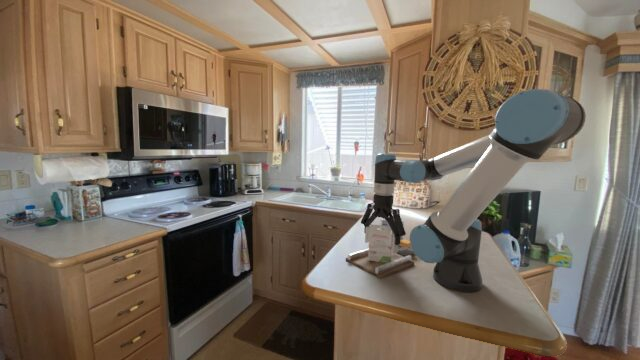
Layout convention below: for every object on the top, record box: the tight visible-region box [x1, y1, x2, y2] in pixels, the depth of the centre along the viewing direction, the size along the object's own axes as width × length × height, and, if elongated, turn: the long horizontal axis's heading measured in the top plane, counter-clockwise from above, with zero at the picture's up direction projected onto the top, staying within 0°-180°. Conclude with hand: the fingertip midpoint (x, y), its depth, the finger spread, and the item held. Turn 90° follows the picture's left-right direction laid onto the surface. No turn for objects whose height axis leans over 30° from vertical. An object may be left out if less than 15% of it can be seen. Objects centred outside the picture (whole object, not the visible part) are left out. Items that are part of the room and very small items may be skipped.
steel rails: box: [347, 247, 413, 274], centre depth 105 cm, size 15×20×2 cm
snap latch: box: [398, 239, 412, 249], centre depth 114 cm, size 4×4×2 cm
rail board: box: [345, 252, 415, 279], centre depth 105 cm, size 18×20×1 cm
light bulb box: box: [379, 217, 404, 242], centre depth 132 cm, size 11×7×11 cm, turn 84°
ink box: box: [368, 223, 393, 263], centre depth 104 cm, size 9×5×15 cm, turn 70°
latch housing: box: [397, 246, 416, 257], centre depth 115 cm, size 6×6×2 cm
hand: (380, 246), depth 104 cm, fingers open, 13 cm apart
